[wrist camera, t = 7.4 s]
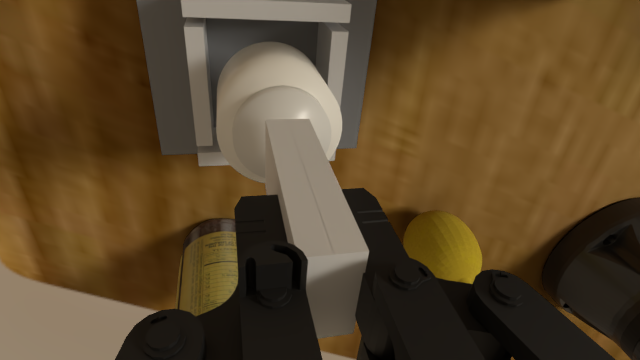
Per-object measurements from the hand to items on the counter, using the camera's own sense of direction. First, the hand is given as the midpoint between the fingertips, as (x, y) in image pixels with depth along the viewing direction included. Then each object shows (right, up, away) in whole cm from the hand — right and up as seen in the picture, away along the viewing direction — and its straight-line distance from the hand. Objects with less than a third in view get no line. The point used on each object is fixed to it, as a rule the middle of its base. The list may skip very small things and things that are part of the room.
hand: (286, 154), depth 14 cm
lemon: (+10, -4, +21) cm, 24 cm away
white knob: (-1, +3, +5) cm, 6 cm away
